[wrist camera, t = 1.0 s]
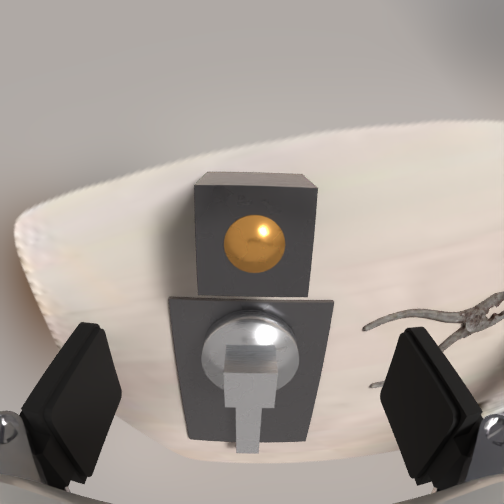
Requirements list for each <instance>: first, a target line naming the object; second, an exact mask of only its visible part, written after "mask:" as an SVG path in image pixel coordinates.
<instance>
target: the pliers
mask: <svg viewBox="0 0 504 504" xmlns="http://www.w3.org/2000/svg"><path fill="white" fill-rule="evenodd" d="M503 300H504V292H499V293H495V294H493V295H492V296H490V297H489V298H487V299H486V300H484V301H483V302H481V303H479V304H478V305H476V306H475V307H473V308H470V309H467V310H464V311H460V312H443V311H436V310H428V309H410V310H405V311H400V312H396V313H393V314H390V315H387V316H384V317H382V318H379V319H377V320H375V321H373V322H371V323H369V324H367V325H366V326H364V328H363V329H364V331H368V330H371V329H373V328H375V327H377V326H379V325H381V324H384V323H387V322H389V321H393V320H397V319H401V318H406V317H423V318H429V319H434V320H438V321H443V322H450V323H464V325H463V326H462V327H461V328H460V329H458V330H457V331H456V332H454V333H453V334H452V335H451V336H449V337H448V338H447V339H446V340H445V341H444V342H443V343H442V344H440V345H439V346H438V347H439V348H440V349H441V351H442V352H443V351H444V350H446V349H447V348H448V347H449V346H450V345H452V344H453V343H454V342H456V341H457V340H459V339H461V338H465V337H467V336H469V335H471V334H473V333H475V332H479V331H482V330H484V329H486V328H488V327H490V326H493V325H494V324H496V323H497V322H499V321H501V320H502V319H504V311H502V312H501V313H500V314H496V313H494V314H493V315H492V316H491V318H489V319H488V318H487V317H486V314H487V313H488V312H489V309H490V308H491V307H492V306H493V305H495V306H496V307H497V306H499V305H500V303H501V302H502V301H503ZM384 382H385V381H381V382H377V383H372V384H371V385H370V387H371V388H377V387H382V386H383V384H384Z"/></svg>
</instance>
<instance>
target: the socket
mask: <svg viewBox="0 0 504 504" xmlns="http://www.w3.org/2000/svg"><path fill="white" fill-rule="evenodd" d="M317 193H318V188H317V187H316V186H315V185H314V184H313V183H312V182H311V181H309V180H308V179H307V178H306V177H305V176H304V175H303V174H285V173H255V172H207V173H206V174H205V175H204V176H203V177H202V178H201V179H200V180H199V181H198V182H197V183H196V184H195V185H194V198H195V236H196V262H197V284H198V295H214V296H251V297H308V290H309V281H310V272H311V262H312V252H313V242H314V231H315V219H316V206H317Z"/></svg>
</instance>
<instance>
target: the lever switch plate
mask: <svg viewBox="0 0 504 504" xmlns="http://www.w3.org/2000/svg"><path fill="white" fill-rule="evenodd" d="M169 306H170V315H171V324H172V332H173V340H174V347H175V355H176V362H177V369H178V375H179V382H180V388H181V394H182V400H183V406H184V412H185V417H186V423H187V428H188V433H189V438H190V439H194V440H207V441H224V442H236V453H259V442H299V441H306V437H307V433H308V429H309V425H310V421H311V417H312V412H313V408H314V404H315V399H316V395H317V390H318V386H319V381H320V376H321V371H322V367H323V362H324V357H325V351H326V346H327V341H328V335H329V330H330V324H331V318H332V312H333V306H334V301H333V300H253V299H216V298H189V297H169Z"/></svg>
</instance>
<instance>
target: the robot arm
mask: <svg viewBox="0 0 504 504" xmlns="http://www.w3.org/2000/svg"><path fill="white" fill-rule="evenodd" d="M121 396H122V391H121V387H120V384H119V380H118V377H117V374H116V370H115V367H114V364H113V360H112V357H111V353H110V349H109V345H108V342H107V338H106V334H105V331H104V329H101V328H100V326H99V325H98V324H94V323H85V322H81V323H80V324H79V325H78V326H77V328H76V329H75V330H74V332H73V333H72V335H71V336H70V337H69V339H68V340H67V341H66V343H65V344H64V346H63V347H62V348H61V350H60V351H59V353H58V354H57V355H56V357H55V358H54V360H53V361H52V363H51V364H50V365H49V367H48V368H47V370H46V371H45V373H44V374H43V376H42V377H41V379H40V380H39V382H38V383H37V385H36V386H35V388H34V389H33V391H32V392H31V394H30V395H29V397H28V399H27V400H26V402H25V403H24V405H23V407H22V408H21V409H22V411H21V413H20V415H18V414H17V413H15V412H12V411H0V504H111V503H107V502H103V501H99V500H95V499H91V498H87V497H84V496H80V495H76V494H73V493H71V492H70V490H69V488H68V485H69V483H70V480H72V481H75V482H78V483H82V484H85V481H86V479H87V477H90V476H92V474H93V471H94V469H95V466H96V463H97V460H98V457H99V455H100V452H101V449H102V446H103V444H104V441H105V438H106V436H107V433H108V431H109V428H110V425H111V423H112V420H113V418H114V415H115V413H116V410H117V407H118V405H119V402H120V400H121ZM380 399H381V403H382V405H383V408H384V410H385V413H386V415H387V418H388V420H389V423H390V426H391V428H392V431H393V433H394V436H395V438H396V441H397V444H398V446H399V449H400V451H401V454H402V457H403V459H404V462H405V465H406V468H407V470H408V473H409V475H410V477H411V478H415V481H416V484H417V485H421V484H425V483H428V482H431V481H432V483H433V486H434V488H433V490H432V493H431V494H428V495H425V496H421V497H418V498H414V499H410V500H406V501H402V502H399V503H395V504H504V416H503V415H499V414H492V415H489V416H487V417H485V418H484V419H483V418H482V416H481V414H482V412H483V411H482V410H481V408H480V407H479V405H478V404H477V402H476V401H475V399H474V397H473V396H472V394H471V393H470V391H469V390H468V388H467V387H466V385H465V384H464V382H463V381H462V379H461V378H460V377H459V375H458V374H457V372H456V371H455V369H454V368H453V366H452V365H451V364H450V362H449V361H448V359H447V358H446V356H445V355H444V354H443V352H442V351H441V349H440V348H439V347H438V345H437V344H436V343H435V341H434V340H433V338H432V337H431V336H430V334H429V333H428V332H427V330H426V329H425V328H424V327H413V328H407V329H406V330H405V331H404V333H401V334H400V336H399V339H398V343H397V346H396V349H395V352H394V355H393V358H392V361H391V364H390V367H389V370H388V373H387V376H386V379H385V382H384V384H383V387H382V390H381V393H380Z"/></svg>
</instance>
